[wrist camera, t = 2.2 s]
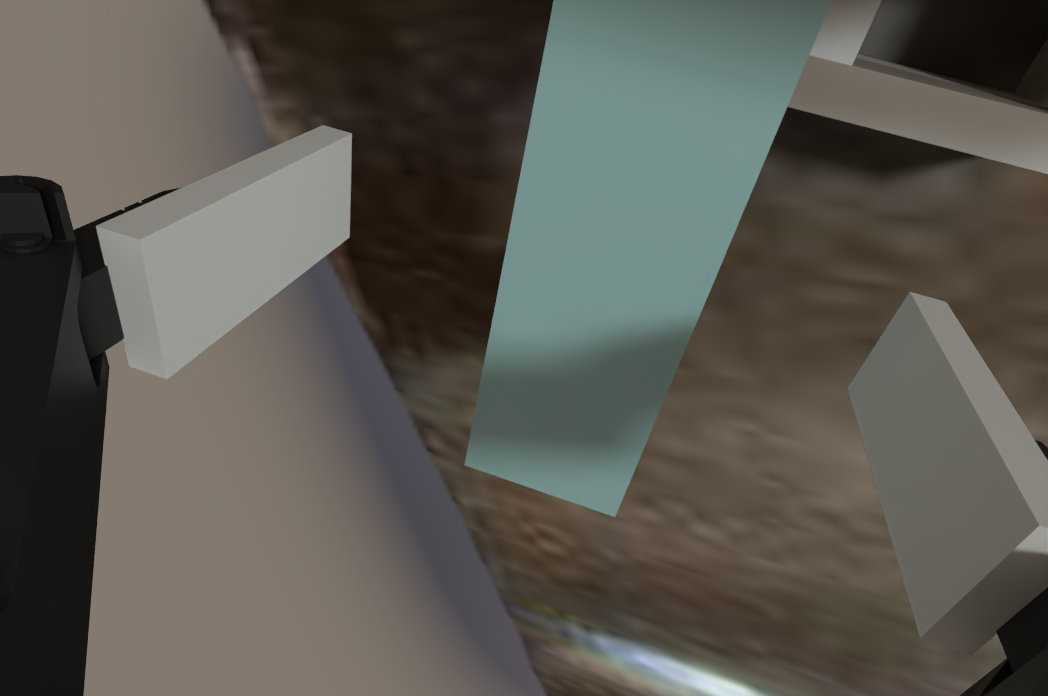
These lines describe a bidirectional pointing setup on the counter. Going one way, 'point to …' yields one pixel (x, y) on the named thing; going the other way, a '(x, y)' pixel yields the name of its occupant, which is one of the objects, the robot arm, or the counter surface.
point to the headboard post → (922, 96)
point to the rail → (625, 225)
